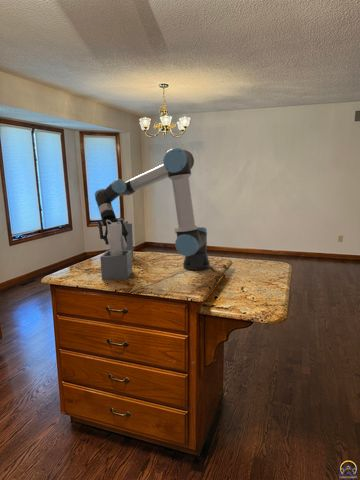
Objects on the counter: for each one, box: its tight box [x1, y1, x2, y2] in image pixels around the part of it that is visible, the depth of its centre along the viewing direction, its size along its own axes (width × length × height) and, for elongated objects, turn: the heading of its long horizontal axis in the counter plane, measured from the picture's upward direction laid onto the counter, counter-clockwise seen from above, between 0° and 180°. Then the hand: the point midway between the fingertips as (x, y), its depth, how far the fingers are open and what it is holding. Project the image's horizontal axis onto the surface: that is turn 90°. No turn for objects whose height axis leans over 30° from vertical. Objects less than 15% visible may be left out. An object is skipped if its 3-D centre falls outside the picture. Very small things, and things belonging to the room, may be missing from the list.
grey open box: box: [99, 250, 134, 281], centre depth 168 cm, size 13×13×12 cm
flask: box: [116, 218, 134, 259], centre depth 207 cm, size 17×5×25 cm, turn 65°
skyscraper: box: [106, 220, 123, 256], centre depth 166 cm, size 8×8×28 cm
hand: (118, 248), depth 163 cm, fingers closed on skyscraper, 7 cm apart
